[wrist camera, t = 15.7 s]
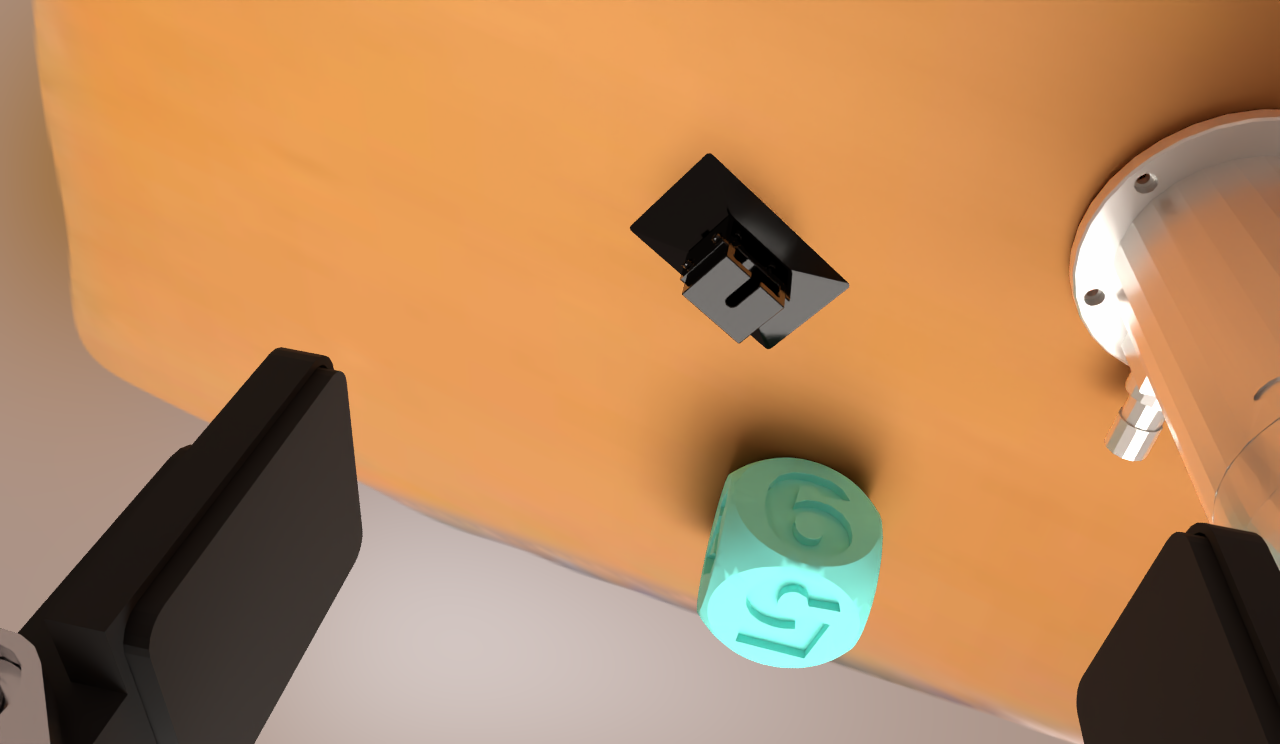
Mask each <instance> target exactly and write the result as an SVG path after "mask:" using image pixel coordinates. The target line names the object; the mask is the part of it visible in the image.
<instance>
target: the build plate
mask: <svg viewBox="0 0 1280 744" xmlns="http://www.w3.org/2000/svg"><path fill="white" fill-rule="evenodd" d="M630 230H631V231H632V232H633V233H634V234H635V235H637V236H638V237H639V238H640V239H641V240H642V241H643V242H645V243H646V244H647V245H648V246H649V247H650V248H651V249H653V250H654V251H655V252H656V253H657V254H658V255H659V256H661V257H662V258H663V259H664V260H665V261H666V262H668V263H669V264H670V265H671V266H672V267H673V268H674V269H676V270H677V271H678V272H679V273H680V274H681V277H680V280H681V281H682V282H683V283H685V284H684V288H683V292H682V295H683V296H684V297H685V298H687V299H688V300H689V301H690V302H691V303H692V304H693V305H695V306H696V307H697V308H698V309H699V310H700V311H701V312H703V313H704V314H705V315H706V316H707V317H708V318H710V319H711V320H712V321H713V322H714V323H715V324H716V325H718V326H719V327H720V328H721V329H722V330H723V331H725V332H726V333H727V334H728V335H729V336H730V337H731V338H733V339H734V340H735V341H736V342H737V343H741V342H742V341H743V340H744V339H746V338H747V337H748V336H749V335H751V336H752V337H754V338H755V339H756V340H757V341H758V342H759V343H760V344H762V345H763V346H764V347H765V348H766V349H770V348H772V347H773V346H775V345H776V344H777V343H778V342H780V341H781V340H782V339H784V338H785V337H786V336H787V335H789V334H790V333H791V332H792V331H794V330H795V329H796V328H798V327H799V326H800V325H801V324H803V323H804V322H805V321H807V320H808V319H809V318H810V317H812V316H813V315H814V314H816V313H817V312H818V311H819V310H821V309H822V308H823V307H825V306H826V305H827V304H828V303H830V302H831V301H832V300H834V299H835V298H836V297H837V296H839V295H840V294H841V293H843V292H844V291H845V290H846V289H848V288H849V283H848V282H847V281H846V280H844V279H843V278H842V277H841V276H840V275H839V274H838V273H837V272H836V271H835V270H834V269H833V268H832V267H831V266H830V265H829V264H828V263H826V262H825V261H824V260H823V259H822V258H821V257H820V256H819V255H818V254H817V253H816V252H815V251H814V250H813V249H812V248H811V247H810V246H809V245H807V244H806V243H805V242H804V241H803V240H802V239H801V238H800V237H799V236H798V235H797V234H796V233H795V232H794V231H793V230H792V229H791V228H789V227H788V226H787V225H786V224H785V223H784V222H783V221H782V220H781V219H780V218H779V217H778V216H777V215H776V214H775V213H774V212H773V211H771V210H770V209H769V208H768V207H767V206H766V205H765V204H764V203H763V202H762V201H761V200H760V199H759V198H758V197H757V196H756V195H755V194H754V193H752V192H751V191H750V190H749V189H748V188H747V187H746V186H745V185H744V184H743V183H742V182H741V181H740V180H739V179H738V178H737V177H736V176H734V175H733V174H732V173H731V172H730V171H729V170H728V169H727V168H726V167H725V166H724V165H723V164H722V163H721V162H720V161H719V160H718V159H717V158H715V157H714V156H713V155H712V154H710V153H709V154H706V155H705V156H704V157H703V158H702V159H701V160H700V161H699V162H698V163H697V164H696V165H695V166H693V167H692V168H691V169H690V170H689V171H688V172H687V173H686V174H685V175H684V176H683V177H682V178H681V179H680V180H679V181H678V182H677V183H676V184H674V185H673V186H672V187H671V188H670V189H669V190H668V191H667V192H666V193H665V194H664V195H663V196H662V197H661V198H660V199H659V200H658V201H657V202H655V203H654V204H653V205H652V206H651V207H650V208H649V209H648V210H647V211H646V212H645V213H644V214H643V215H642V216H641V217H640V218H639V219H638V220H636V221H635V222H634V223H633V224H632V225H631V226H630Z"/></svg>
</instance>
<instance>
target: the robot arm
mask: <svg viewBox="0 0 1280 744" xmlns="http://www.w3.org/2000/svg"><path fill="white" fill-rule="evenodd" d="M1144 174H1147V175H1146V177H1145V178H1143V179H1139V180H1137V179H1138V177H1140V176H1142V175H1144ZM1069 278H1070V284H1071V290H1072V296H1073V299H1074V302H1075V304H1076V307H1077V310H1078V313H1079V316H1080V318H1081V320H1082V321H1083V323H1084V325H1085V326H1086V328H1087V330H1088V331H1089V333H1090V335H1091V336H1092V337H1093V338H1094V339H1095V340H1096V341H1097V342H1098V343H1099V344H1100V346H1101V347H1102V348H1103V349H1104V350H1105V351H1106V352H1107V353H1109V354H1111V355H1112V356H1114V357H1115V358H1117V359H1118V360H1120V361H1121V362H1123V363H1124V364H1126V365H1128V366H1129V367H1130V369H1131V373H1130V375H1129V377H1128V378H1127V380H1126V382H1125V384H1126V390H1127V391H1128V393H1129V394H1130V395H1129V397H1128V399H1127V401H1126V402H1125V404H1124V406H1123V407H1121V409H1120V410H1119V412H1118V414H1117V416H1116V418H1115V420H1114V422H1113V424H1112V426H1111V428H1110V430H1109V431H1108V433H1107V435H1106V437H1105V439H1104V442H1105V445H1106V447H1107V448H1108V449H1109V450H1110V451H1111V452H1112V453H1113V454H1115V455H1117V456H1119V457H1121V458H1123V459H1127V460H1131V461H1142V460H1143V459H1144V458H1146V457H1147V455H1148V453H1149V452H1150V450H1151V448H1152V446H1153V444H1154V443H1155V441H1156V439H1157V437H1158V435H1159V434H1160V432H1161V430H1162V424H1163V422H1164V420H1166V422H1167V425H1168V427H1169V429H1170V432H1171V434H1172V436H1173V439H1174V441H1175V443H1176V446H1177V448H1178V450H1179V453H1180V455H1181V457H1182V460H1183V462H1184V464H1185V467H1186V469H1187V471H1188V474H1189V476H1190V478H1191V481H1192V483H1193V485H1194V488H1195V490H1196V492H1197V495H1198V497H1199V499H1200V502H1201V504H1202V506H1203V509H1204V511H1205V513H1206V516H1207V518H1208V521H1209V523H1210V524H1208V523H1196V524H1194V525H1193V526H1191V527H1190V528H1189V529H1188V530H1187V532H1186V533H1183V532H1176V533H1174V534H1172V535H1171V536H1170V538H1169V539H1168V540H1167V542H1166V543H1165V545H1164V546H1163V548H1162V550H1161V551H1160V553H1159V554H1158V556H1157V558H1156V559H1155V561H1154V563H1153V564H1152V566H1151V567H1150V569H1149V571H1148V572H1147V574H1146V575H1145V577H1144V579H1143V580H1142V582H1141V583H1140V585H1139V587H1138V588H1137V590H1136V591H1135V593H1134V595H1133V596H1132V598H1131V599H1130V601H1129V603H1128V604H1127V606H1126V608H1125V609H1124V611H1123V612H1122V614H1121V616H1120V617H1119V619H1118V620H1117V622H1116V624H1115V625H1114V627H1113V628H1112V630H1111V632H1110V633H1109V635H1108V636H1107V638H1106V640H1105V641H1104V643H1103V644H1102V646H1101V648H1100V649H1099V651H1098V653H1097V654H1096V656H1095V657H1094V659H1093V661H1092V662H1091V664H1090V665H1089V667H1088V669H1087V670H1086V672H1085V673H1084V675H1083V677H1082V679H1081V681H1080V683H1079V687H1078V691H1077V713H1078V718H1079V722H1080V727H1081V731H1082V736H1083V740H1084V744H1280V110H1278V109H1260V110H1253V111H1246V112H1239V113H1232V114H1226V115H1223V116H1220V117H1216V118H1213V119H1210V120H1206V121H1203V122H1200V123H1196V124H1193V125H1191V126H1189V127H1187V128H1185V129H1183V130H1181V131H1178V132H1176V133H1174V134H1172V135H1170V136H1168V137H1166V138H1163V139H1162V140H1160V141H1159V142H1157V143H1156V144H1154V145H1152V146H1151V147H1149V148H1148V149H1146V150H1145V151H1143V152H1142V153H1140V154H1139V155H1137V156H1136V157H1134V158H1133V159H1132V160H1131V161H1130V162H1129V163H1128V164H1126V165H1125V166H1124V167H1123V168H1122V169H1121V170H1120V171H1119V172H1118V173H1117V174H1115V175H1114V176H1113V177H1112V178H1111V179H1110V180H1109V181H1108V183H1107V184H1106V185H1105V186H1104V188H1103V189H1102V190H1101V191H1100V193H1099V194H1098V195H1097V196H1096V198H1095V199H1094V200H1093V201H1092V203H1091V204H1090V206H1089V208H1088V210H1087V212H1086V214H1085V216H1084V217H1083V219H1082V221H1081V223H1080V225H1079V227H1078V230H1077V233H1076V236H1075V239H1074V243H1073V246H1072V249H1071V256H1070V269H1069ZM1092 289H1094V290H1092ZM1090 290H1092V291H1090ZM361 543H362V522H361V513H360V503H359V494H358V484H357V475H356V466H355V456H354V447H353V438H352V428H351V419H350V409H349V400H348V391H347V382H346V377H345V375H344V373H343V372H341V371H336V370H334V368H333V364H332V362H331V360H330V358H329V357H327V356H324V355H319V354H314V353H308V352H303V351H298V350H293V349H287V348H282V347H280V348H277V349H275V350H274V351H272V352H271V353H270V354H269V355H268V356H267V358H266V359H265V360H264V361H263V362H262V363H261V365H260V366H259V367H258V368H257V369H256V370H255V372H254V373H253V374H252V375H251V376H250V378H249V379H248V380H247V381H246V382H245V383H244V385H243V386H242V387H241V388H240V389H239V390H238V392H237V393H236V394H235V395H234V396H233V397H232V399H231V400H230V401H229V402H228V403H227V404H226V406H225V407H224V408H223V409H222V410H221V411H220V413H219V414H218V415H217V416H216V417H215V419H214V420H213V421H212V422H211V423H210V424H209V426H208V427H207V428H206V429H205V430H204V431H203V433H202V434H201V435H200V436H199V437H198V439H197V440H196V441H195V442H194V443H193V444H192V445H188V446H185V447H183V448H180V449H179V450H178V451H177V452H176V453H175V454H173V455H172V456H171V457H170V458H169V459H168V460H167V462H166V463H165V464H164V465H163V466H162V467H161V468H160V470H159V471H158V472H157V473H156V474H155V475H154V477H153V478H152V479H151V480H150V481H149V482H148V483H147V485H146V486H145V487H144V488H143V489H142V490H141V492H140V493H139V494H138V495H137V496H136V497H135V498H134V500H133V501H132V502H131V503H130V504H129V505H128V507H127V508H126V509H125V510H124V511H123V512H122V513H121V515H120V516H119V517H118V518H117V519H116V520H115V522H114V523H113V524H112V525H111V526H110V527H109V529H108V530H107V531H106V532H105V533H104V534H103V535H102V536H101V538H100V539H99V540H98V541H97V542H96V544H95V545H94V546H93V547H92V548H91V549H90V550H89V551H88V553H87V554H86V555H85V556H84V557H83V558H82V560H81V561H80V562H79V563H78V564H77V565H76V566H75V568H74V569H73V570H72V571H71V572H70V573H69V575H68V576H67V577H66V578H65V579H64V580H63V581H62V583H61V584H60V585H59V586H58V587H57V588H56V590H55V591H54V592H53V593H52V594H51V595H50V596H49V598H48V599H47V600H46V601H45V602H44V603H43V604H42V606H41V607H40V608H39V609H38V610H37V611H36V613H35V614H34V615H33V616H32V617H31V618H30V619H29V621H28V622H27V623H26V624H25V625H24V627H23V628H22V629H21V630H20V631H19V632H18V633H15V632H11V631H8V630H5V629H2V628H0V744H254V743H255V741H256V739H257V738H258V736H259V734H260V732H261V730H262V728H263V727H264V725H265V723H266V721H267V720H268V718H269V716H270V714H271V713H272V711H273V709H274V707H275V705H276V704H277V702H278V700H279V698H280V696H281V695H282V693H283V691H284V689H285V687H286V686H287V684H288V682H289V680H290V678H291V677H292V675H293V673H294V671H295V669H296V668H297V666H298V664H299V662H300V660H301V659H302V657H303V655H304V653H305V651H306V650H307V648H308V646H309V644H310V642H311V641H312V639H313V637H314V635H315V633H316V631H317V630H318V628H319V626H320V624H321V623H322V621H323V619H324V617H325V615H326V614H327V612H328V610H329V608H330V606H331V605H332V603H333V601H334V599H335V597H336V596H337V594H338V592H339V590H340V588H341V587H342V585H343V583H344V581H345V579H346V578H347V576H348V574H349V572H350V570H351V569H352V567H353V565H354V563H355V561H356V559H357V556H358V553H359V551H360V547H361Z"/></svg>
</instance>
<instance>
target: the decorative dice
mask: <svg viewBox="0 0 1280 744" xmlns="http://www.w3.org/2000/svg"><path fill="white" fill-rule="evenodd" d="M882 540H883V531H882V521H881V517H880V514H879V512H878V511H877V509H876V508H875V506H874V505H873V503H872V502H871V500H870V499H869V498H868V497H867V496H866V494H865V493H864V492H863V491H862V490H861V489H860V488H859V487H858V486H857V485H856V484H855V483H853V482H852V481H851V480H850V479H848V478H847V477H845V476H844V475H842V474H841V473H839V472H837V471H835V470H833V469H831V468H829V467H827V466H824V465H822V464H819V463H816V462H813V461H809V460H804V459H799V458H773V459H765V460H761V461H757V462H754V463H751V464H748V465H746V466H743V467H741V468H739V469H737V470H735V471H734V472H732V473H730V474H729V475H728V477H727V479H726V482H725V484H724V487H723V490H722V493H721V497H720V500H719V503H718V507H717V510H716V514H715V518H714V522H713V526H712V530H711V534H710V538H709V542H708V547H707V551H706V556H705V560H704V565H703V570H702V575H701V581H700V586H699V593H698V600H697V613H698V614H699V616H700V618H701V619H702V621H703V622H704V623H705V625H706V626H707V627H708V629H709V630H710V631H711V632H712V633H713V635H714V636H715V637H717V638H718V639H719V640H720V641H721V642H722V643H723V644H725V645H726V646H727V647H728V648H730V649H731V650H733V651H734V652H736V653H737V654H739V655H741V656H743V657H745V658H747V659H750V660H752V661H755V662H758V663H761V664H765V665H769V666H775V667H783V668H803V667H811V666H816V665H820V664H822V663H826V662H828V661H831V660H833V659H835V658H837V657H839V656H841V655H843V654H844V653H846V652H847V651H849V650H851V649H852V648H853V647H854V646H855V644H856V643H857V641H858V640H859V638H860V636H861V634H862V632H863V629H864V627H865V624H866V622H867V619H868V616H869V613H870V610H871V606H872V603H873V599H874V595H875V591H876V586H877V582H878V576H879V570H880V564H881V555H882Z"/></svg>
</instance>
